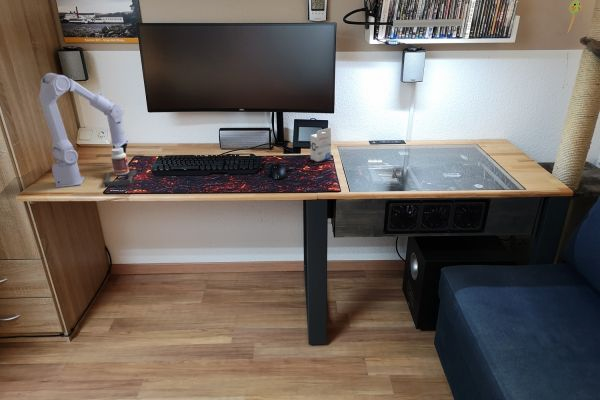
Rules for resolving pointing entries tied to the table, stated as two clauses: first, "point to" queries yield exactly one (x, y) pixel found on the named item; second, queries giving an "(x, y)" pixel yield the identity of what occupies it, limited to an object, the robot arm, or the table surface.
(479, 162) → the table surface
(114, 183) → the mount cradle
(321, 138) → the ink box
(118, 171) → the pill bottle
